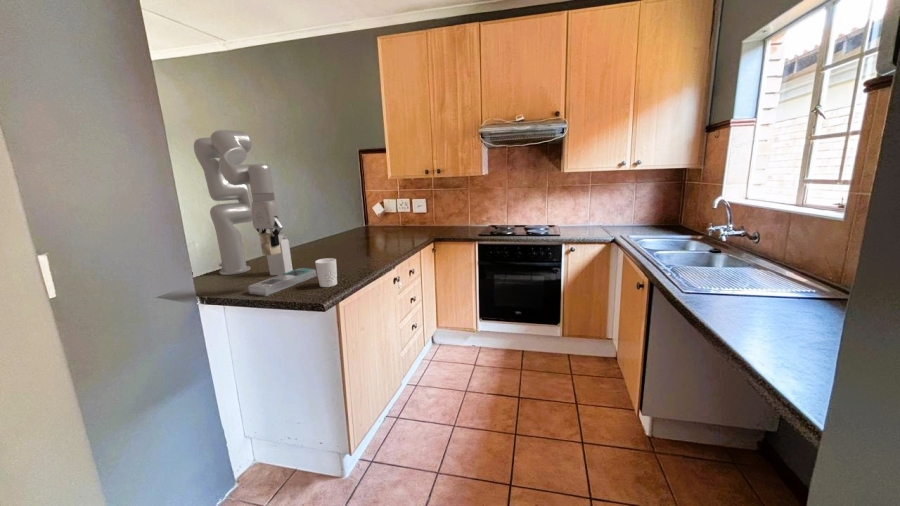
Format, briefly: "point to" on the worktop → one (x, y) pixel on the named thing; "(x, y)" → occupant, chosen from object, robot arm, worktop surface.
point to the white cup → (326, 272)
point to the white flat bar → (281, 281)
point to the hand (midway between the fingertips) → (270, 245)
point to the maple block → (268, 245)
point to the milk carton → (280, 258)
